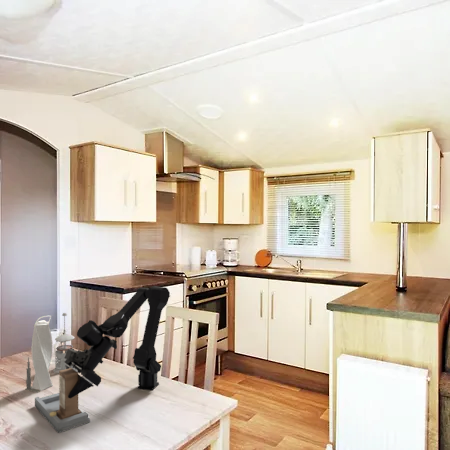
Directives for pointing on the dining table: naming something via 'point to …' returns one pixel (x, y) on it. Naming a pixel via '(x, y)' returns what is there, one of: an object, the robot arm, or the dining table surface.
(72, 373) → the wooden block
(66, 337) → the french press
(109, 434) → the dining table surface
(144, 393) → the dining table surface
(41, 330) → the skyscraper
